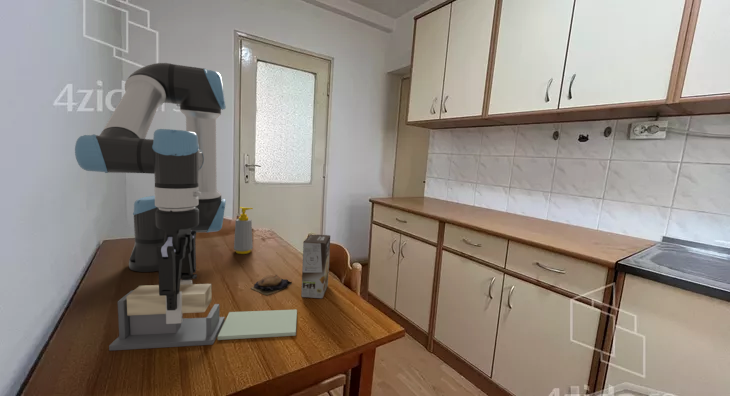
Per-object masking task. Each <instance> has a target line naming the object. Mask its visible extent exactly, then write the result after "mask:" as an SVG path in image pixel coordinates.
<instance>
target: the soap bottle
mask: <svg viewBox="0 0 730 396" xmlns="http://www.w3.org/2000/svg"><path fill="white" fill-rule="evenodd" d="M239 209H241V213H240V216H239V217H238V218H236V219H235V225H234V226H235V227H234V241H233V242H234V243H233V244H234V245H233V250H234V251H235V253H236V254H239V255H245V254H249V253H251V251H252V250H253V247H254V245H253V226H252V219H251V218H249V216H248V215H247V213H246V211H249V210H253V209H254V207H243V206H239Z"/></svg>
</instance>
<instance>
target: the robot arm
mask: <svg viewBox="0 0 730 396" xmlns="http://www.w3.org/2000/svg"><path fill="white" fill-rule="evenodd" d="M124 90H125V91H124V94H123V95H122V97H121V99H120V101H119V103H118V104H117V106H116V107H115V109H114V111H113V112H112V114H111V116H110V118H109V120H108V121H107V123H106V124H105V126H104V128H103V130H102V131H101V133H100V134H99V135H96V134H83V135H80V136H79V137H78V138H77V140H76V141H75V145H74V155H75V159H76V162H77V164H78V165H79V167H80V169H82V170H83V171H88V172H98V173H105V174H109V173H111V174H112V173H113V174H115V173H116V174H119V173H120V174H121V173H122V174H149V175H150V174H151V175H152V174H154V195H150V196H145V197H140V198H138V199H136V200H135V201H134V202H133V213H132V215H133V229H134V246H133V248H132V251H131V254H130V257H129V261H128V269H130V270H131V271H133V272H134V271H135V272H139V273H141V272H142V273H148V272H149V273H150V272H158V285H159V295H160V296H165V297H166V324H176V323H182V319H183V313H182V291H180V285H184V284H193V280H194V279H197V276H198V274H197V273H196V271H197V257H196V256H197V254H196V247H197V246H196V244H197V243H196V241H197V240H196V237H197V233H213V232H219V231H221V229H222V228H223V223H224V217H225V209H226V208H225V207H226V201H227V200H226V198H222V193H221V192H220V191H219V190H218V189H217V119H218V118H219V117H220V116H221V115H222V110H225V109H226V101H225V100H226V99H225V98H226V97H225V93H224V92H225V91H224V85H223V79H222V76H221V74H220V72H218V71H215V70H212V69H206V68H202V67H195V66H194V67H193V66H187V65H179V64H174V63H167V62H157V63H151V64H149V65H145V66H143V67H141V68H138V69H137V70H134V71H133V72H132V73H131V74H130V75H129V76H128V78H127V79H126V80H125V82H124ZM164 104H172V105H179V111H180V112H181V113H182V114H183V115H184V116H185V125H186V126H185V129H186V130H182V129H181V130H180V129H169V128H157V129H156V130H154V131H153V139H150V138H149V139H148V138H146V137H147V135H148V132H149V130H150V127H151V126H152V123H153V120H154V118H155V115H156V112H157V110H158V108H159V107H161V106H162V105H164Z"/></svg>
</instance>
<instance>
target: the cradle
mask: <svg viewBox="0 0 730 396" xmlns="http://www.w3.org/2000/svg"><path fill="white" fill-rule="evenodd" d="M134 290H135V289H134ZM134 290H133V289H132V290H130V291H129V292H128V293H127V294H125V295H124V296H123V297H122V298H120V299H119V300H117V316H118V317H117V318H118V337H116V339H115V340H113V341H112V342H111V343H110V344H109V346H108V351H122V350H124V351H125V350H141V349H142V350H143V349H145V350H146V349H157V348H161V349H162V348H175V347H176V348H177V347H178V348H179V347H195V346H210V345H214V343H215V341H216V339H217V338H218V335H219V333H220V331H221V328H222V326H223V324H224V322H225V316H220V304H219V303H214V305H212V307H211V309H210V311H209V312H208V314H207V316H206V317H193V318H192V317H188V318H185V317H184V318H182V323H176V324H166V314H151V315H129V316H127V296H128V295H129V294H130V293H131V292H133V291H134Z"/></svg>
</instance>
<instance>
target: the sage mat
mask: <svg viewBox="0 0 730 396" xmlns="http://www.w3.org/2000/svg"><path fill="white" fill-rule="evenodd" d="M297 309H298V308H297ZM297 309H295V308H294V309H278V310H277V309H276V310H274V309H273V310H253V311H252V310H250V311H248V310H246V311H229V312H228V314H227V317H226V318H225V319H224V323H223V325H222V327H221V329H220V331H219V333H218V335H217V341H221V340H223V341H224V340H236V339H237V340H239V339H240V340H241V339H258V338H275V337H276V338H278V337H292V336H293V337H294V336H297V317H298V314H297V313H298V310H297Z"/></svg>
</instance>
